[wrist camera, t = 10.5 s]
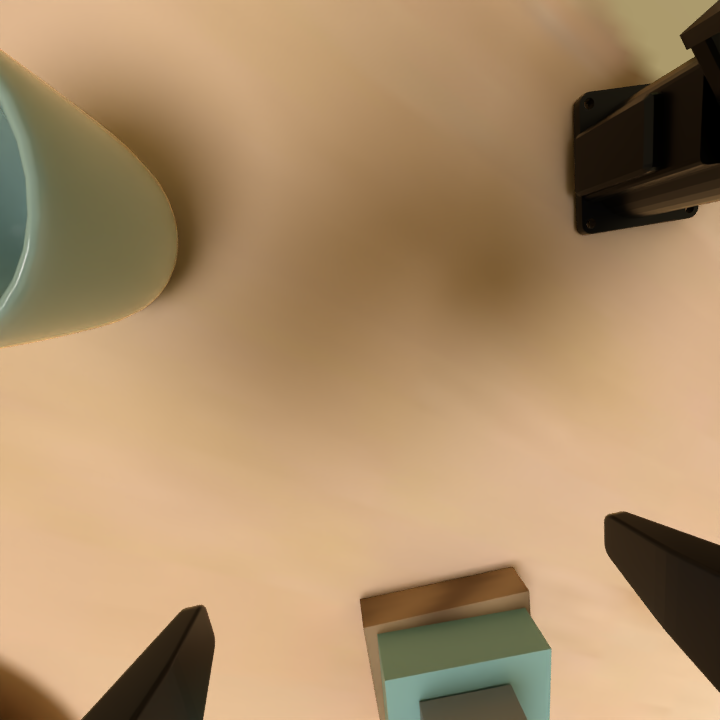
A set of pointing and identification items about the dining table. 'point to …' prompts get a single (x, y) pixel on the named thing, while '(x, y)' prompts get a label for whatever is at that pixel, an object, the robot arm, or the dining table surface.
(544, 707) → the tower top
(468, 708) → the grey cube
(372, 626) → the tower bottom
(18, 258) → the cup
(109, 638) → the dining table surface
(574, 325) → the dining table surface
